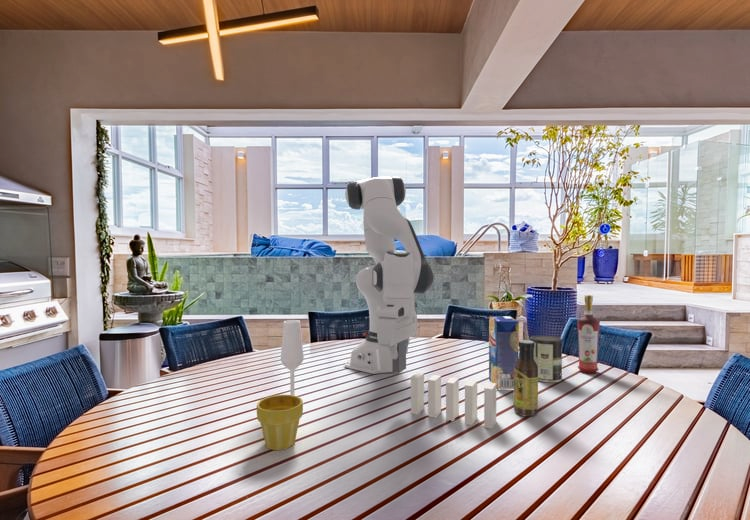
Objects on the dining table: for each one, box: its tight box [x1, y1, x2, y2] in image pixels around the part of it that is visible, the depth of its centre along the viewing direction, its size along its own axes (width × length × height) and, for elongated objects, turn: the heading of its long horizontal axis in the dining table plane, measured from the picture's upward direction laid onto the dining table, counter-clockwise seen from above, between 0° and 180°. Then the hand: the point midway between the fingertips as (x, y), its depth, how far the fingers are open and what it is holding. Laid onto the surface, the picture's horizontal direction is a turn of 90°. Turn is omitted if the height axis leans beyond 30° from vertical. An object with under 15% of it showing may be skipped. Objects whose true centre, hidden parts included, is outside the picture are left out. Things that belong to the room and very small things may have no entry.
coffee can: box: [530, 334, 563, 383], centre depth 145 cm, size 10×10×14 cm
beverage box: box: [488, 315, 520, 389], centre depth 138 cm, size 7×11×22 cm, turn 177°
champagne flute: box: [280, 319, 305, 404], centre depth 122 cm, size 7×7×24 cm
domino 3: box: [427, 374, 442, 419], centre depth 114 cm, size 2×5×10 cm, turn 153°
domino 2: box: [410, 372, 425, 415], centre depth 116 cm, size 2×5×10 cm, turn 153°
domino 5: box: [464, 379, 478, 426], centre depth 109 cm, size 2×5×10 cm, turn 153°
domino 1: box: [392, 339, 407, 374], centre depth 118 cm, size 2×5×10 cm, turn 153°
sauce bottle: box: [513, 339, 539, 417], centre depth 114 cm, size 6×6×20 cm
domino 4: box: [445, 376, 460, 422], centre depth 111 cm, size 2×5×10 cm, turn 153°
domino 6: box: [483, 382, 497, 430], centre depth 107 cm, size 2×5×10 cm, turn 153°
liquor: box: [577, 294, 601, 375], centre depth 153 cm, size 7×7×28 cm
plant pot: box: [256, 394, 304, 451], centre depth 96 cm, size 10×10×10 cm
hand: (399, 355), depth 118 cm, fingers closed on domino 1, 5 cm apart
